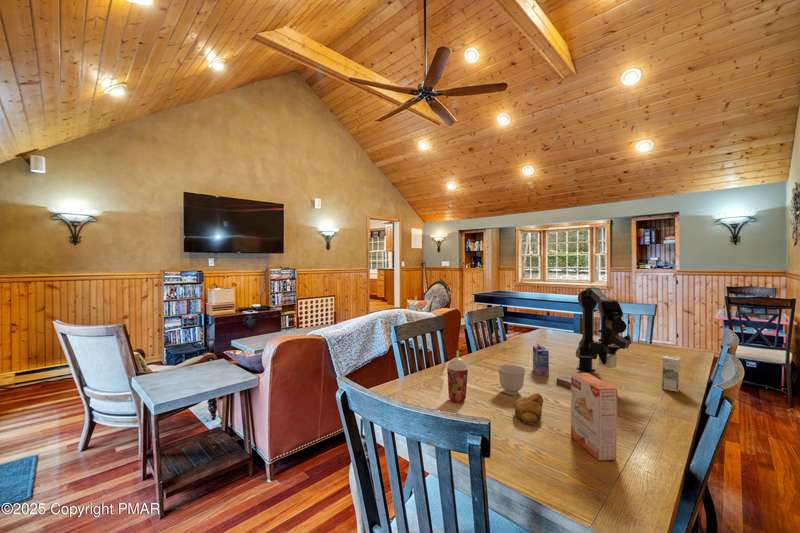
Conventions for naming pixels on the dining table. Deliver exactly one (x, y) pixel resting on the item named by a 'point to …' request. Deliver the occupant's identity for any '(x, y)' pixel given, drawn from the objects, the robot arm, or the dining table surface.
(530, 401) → the bread roll
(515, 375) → the teacup
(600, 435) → the cracker box
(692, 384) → the dining table surface
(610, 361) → the sage cube
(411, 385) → the dining table surface
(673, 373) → the syrup box
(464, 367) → the smoothie
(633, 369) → the dining table surface
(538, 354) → the ink cartridge box
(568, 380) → the walnut board
